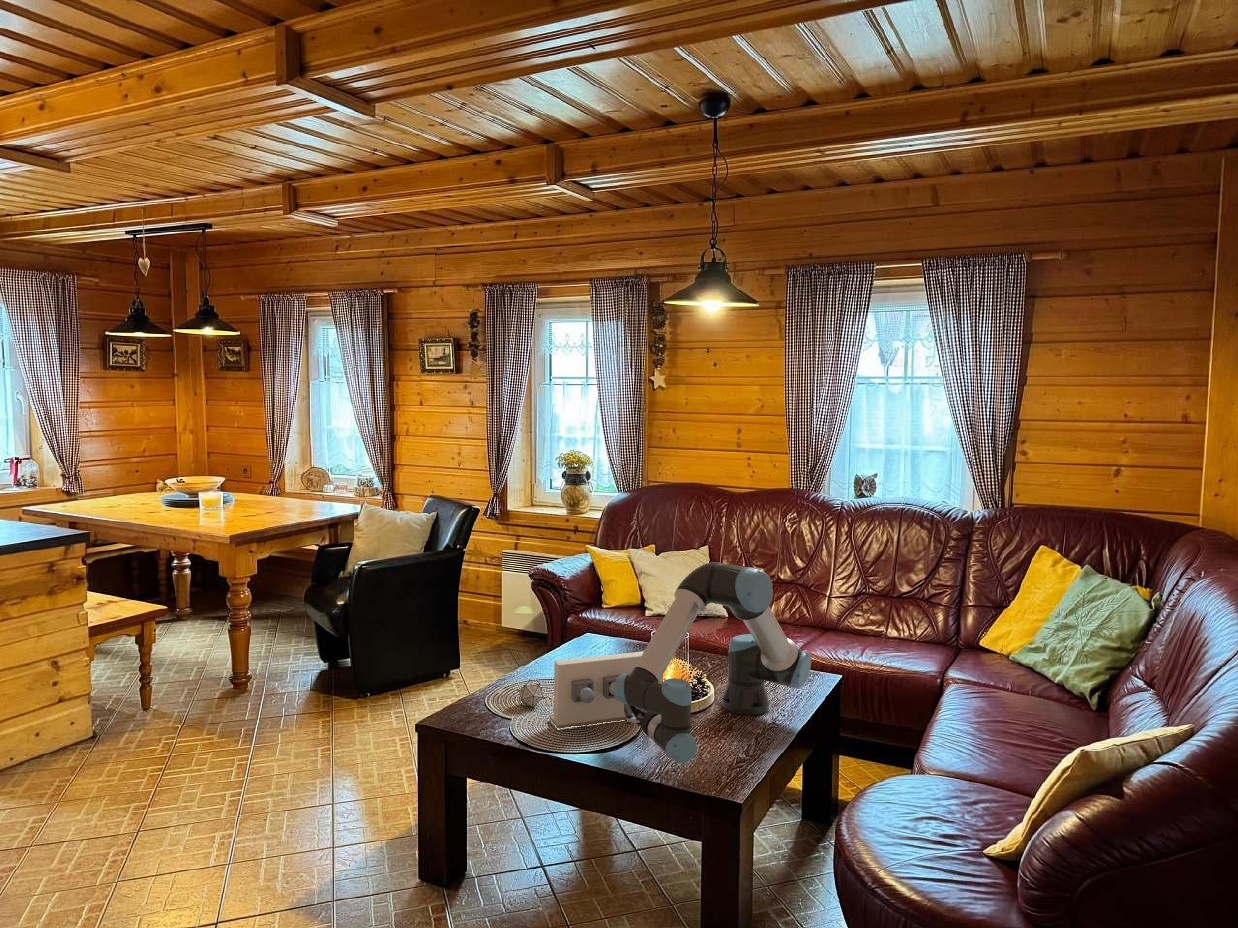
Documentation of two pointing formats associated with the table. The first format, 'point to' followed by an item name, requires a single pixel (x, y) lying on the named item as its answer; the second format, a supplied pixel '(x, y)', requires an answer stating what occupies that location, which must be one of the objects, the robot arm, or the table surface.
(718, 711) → the table surface
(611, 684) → the sage button
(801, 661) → the robot arm
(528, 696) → the game die
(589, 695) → the slate button
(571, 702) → the button panel
